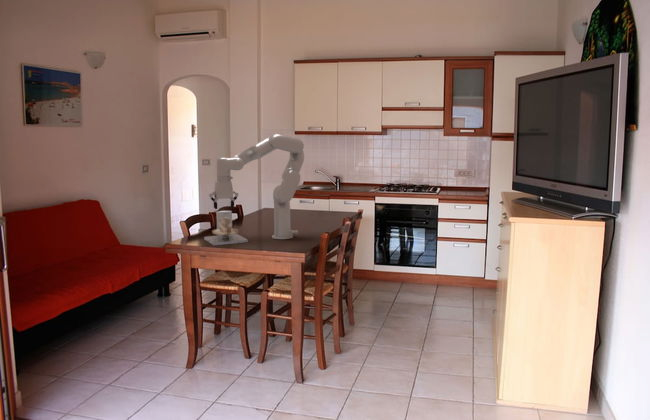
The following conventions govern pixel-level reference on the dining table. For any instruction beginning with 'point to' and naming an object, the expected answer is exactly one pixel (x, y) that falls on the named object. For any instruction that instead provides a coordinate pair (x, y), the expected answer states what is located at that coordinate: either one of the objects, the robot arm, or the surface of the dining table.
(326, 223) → the dining table surface
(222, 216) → the skincare box
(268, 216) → the dining table surface
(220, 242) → the eye plate
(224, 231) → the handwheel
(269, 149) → the robot arm
